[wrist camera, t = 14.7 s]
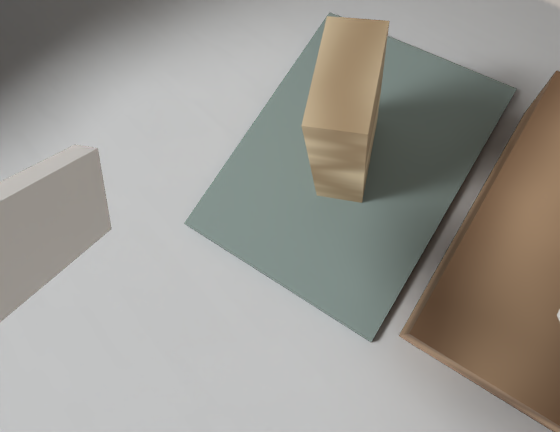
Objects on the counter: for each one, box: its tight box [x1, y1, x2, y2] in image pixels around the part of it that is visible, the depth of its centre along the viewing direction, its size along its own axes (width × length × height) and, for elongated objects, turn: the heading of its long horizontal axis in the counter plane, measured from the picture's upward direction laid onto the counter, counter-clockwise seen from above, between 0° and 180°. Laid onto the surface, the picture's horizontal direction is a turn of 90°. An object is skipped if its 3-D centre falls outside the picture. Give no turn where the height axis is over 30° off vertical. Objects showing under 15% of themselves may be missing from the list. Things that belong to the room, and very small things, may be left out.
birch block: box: [301, 16, 389, 203], centre depth 21 cm, size 2×5×8 cm, turn 167°
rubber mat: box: [184, 13, 516, 342], centre depth 25 cm, size 12×16×1 cm
